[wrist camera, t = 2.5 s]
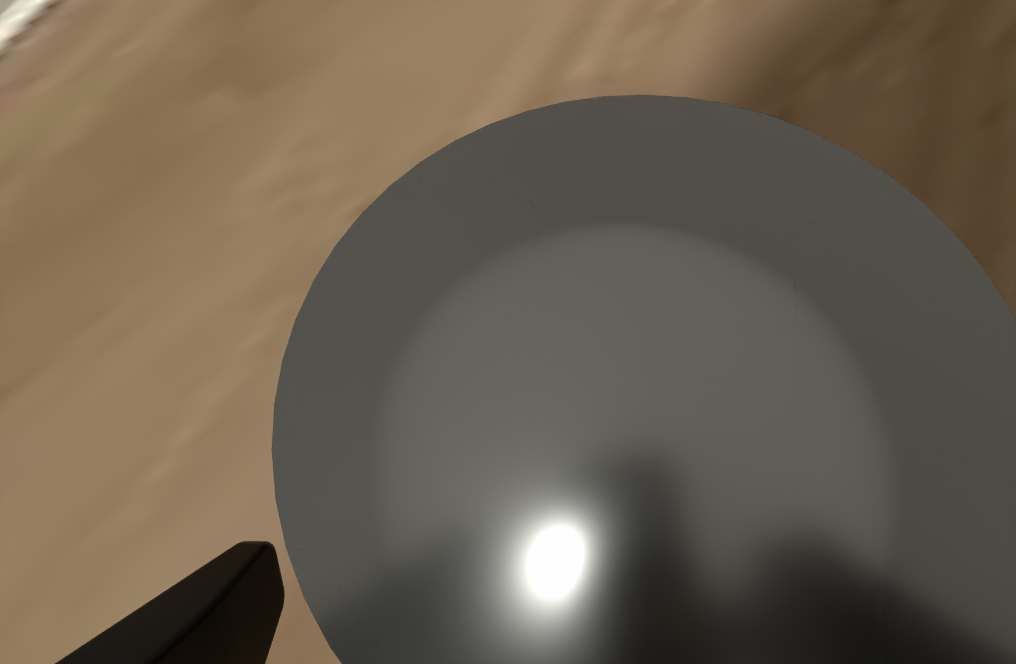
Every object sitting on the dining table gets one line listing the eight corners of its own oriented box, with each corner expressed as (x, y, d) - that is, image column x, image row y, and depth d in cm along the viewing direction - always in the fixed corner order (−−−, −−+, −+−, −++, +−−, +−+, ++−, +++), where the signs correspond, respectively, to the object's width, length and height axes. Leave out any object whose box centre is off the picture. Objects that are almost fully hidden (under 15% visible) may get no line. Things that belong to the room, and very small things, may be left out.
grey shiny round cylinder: (746, 589, 16) (1261, 496, 4) (557, 726, 15) (527, 1103, 3) (613, 408, 18) (701, 8, 6) (441, 519, 17) (170, 295, 5)
